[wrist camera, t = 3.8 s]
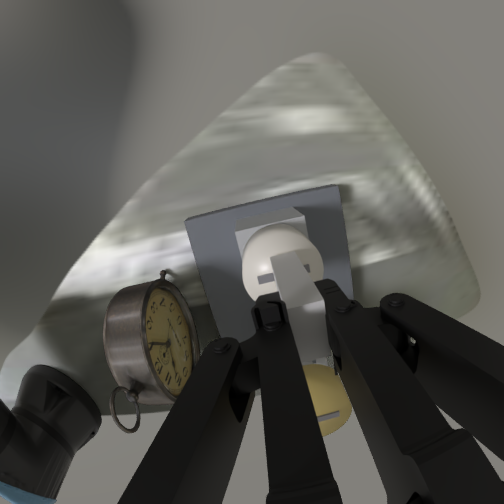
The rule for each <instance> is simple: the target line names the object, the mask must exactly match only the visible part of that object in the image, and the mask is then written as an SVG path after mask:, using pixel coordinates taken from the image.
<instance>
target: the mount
mask: <svg viewBox="0 0 504 504" xmlns="http://www.w3.org/2000/svg"><path fill="white" fill-rule="evenodd" d="M184 223H185V226H186V230H187V233H188V237H189V240H190V244H191V247H192V250H193V254H194V257H195V260H196V264H197V267H198V270H199V273H200V277H201V280H202V283H203V286H204V289H205V292H206V295H207V298H208V302H209V305H210V308H211V311H212V314H213V317H214V320H215V322H216V325H217V328H218V331H219V334H220V337H221V338H224V337H232V338H235V339H237V340H238V342H239V343H240V342H243V341H245V340H247V339H249V338H251V337H252V336H253V335H254V334H255V333H256V329H255V326H254V322H253V318H252V315H251V309H252V307H254V306H255V305H256V303H255V301H254V300H253V299H252V298H251V297H250V295H249V294H248V293H247V291H246V289H245V286H244V283H243V277H242V256H243V250H244V247H245V245H246V243H247V241H248V240H249V238H250V237H251V236H252V235H253V234H254V233H255V232H256V231H258V230H259V229H261V228H263V227H265V226H268V225H272V224H285V225H289V226H292V227H294V228H296V229H298V230H299V231H301V232H302V233H303V234H304V235H305V236H306V237H307V238H308V239H309V240H310V242H311V243H312V244H313V245H314V246H315V247H316V248H317V250H318V251H319V253H320V255H321V258H322V261H323V267H324V273H323V279H327V278H328V279H331V280H333V281H335V282H336V283H337V285H338V286H339V287H340V288H341V290H342V291H343V292H344V294H345V295H346V296H347V298H348V299H352V300H354V296H353V286H352V276H351V267H350V259H349V251H348V244H347V236H346V230H345V223H344V217H343V211H342V205H341V199H340V193H339V188H338V186H337V185H332V184H331V185H326V186H321V187H316V188H312V189H307V190H302V191H297V192H293V193H288V194H284V195H279V196H275V197H270V198H266V199H261V200H257V201H253V202H249V203H245V204H240V205H236V206H232V207H228V208H224V209H220V210H216V211H212V212H208V213H205V214H201V215H197V216H193V217H189V218H187V219H186V220H185V221H184ZM323 279H322V280H323ZM312 362H313V364H321V365H326V366H328V363H327V357H323V358H320V359H316V360H312Z"/></svg>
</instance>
